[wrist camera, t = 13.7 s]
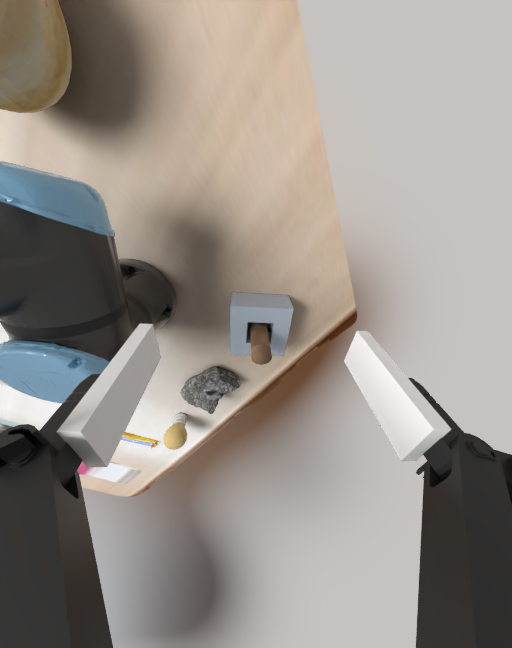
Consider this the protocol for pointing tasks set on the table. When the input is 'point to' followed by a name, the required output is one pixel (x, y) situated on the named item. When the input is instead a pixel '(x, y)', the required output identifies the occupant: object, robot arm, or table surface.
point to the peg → (260, 343)
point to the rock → (209, 388)
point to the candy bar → (138, 439)
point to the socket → (259, 320)
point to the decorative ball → (33, 55)
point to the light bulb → (176, 433)
